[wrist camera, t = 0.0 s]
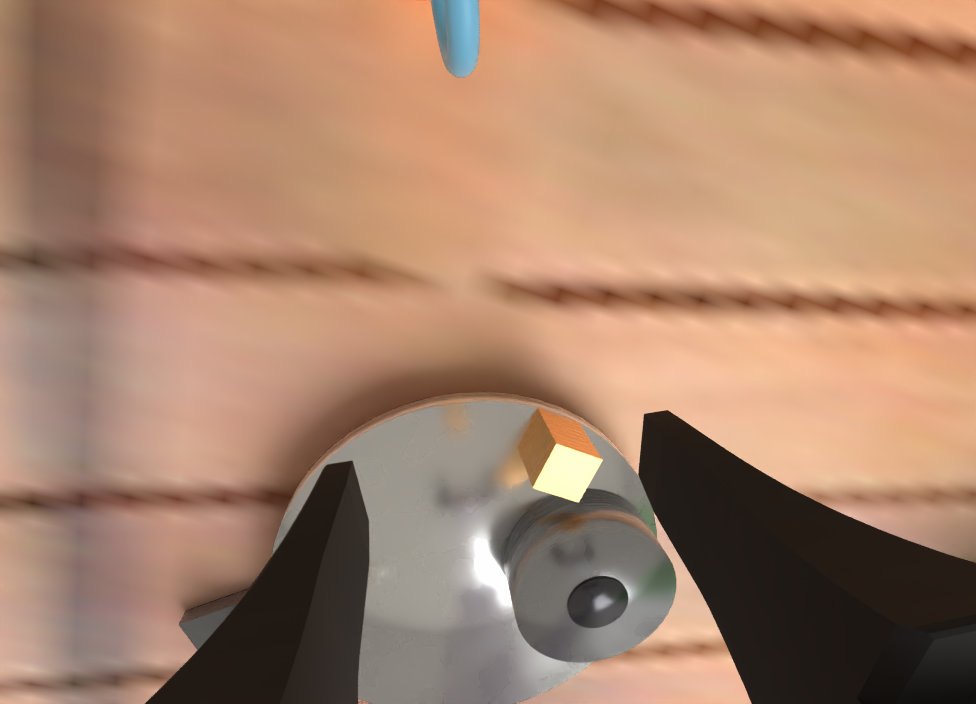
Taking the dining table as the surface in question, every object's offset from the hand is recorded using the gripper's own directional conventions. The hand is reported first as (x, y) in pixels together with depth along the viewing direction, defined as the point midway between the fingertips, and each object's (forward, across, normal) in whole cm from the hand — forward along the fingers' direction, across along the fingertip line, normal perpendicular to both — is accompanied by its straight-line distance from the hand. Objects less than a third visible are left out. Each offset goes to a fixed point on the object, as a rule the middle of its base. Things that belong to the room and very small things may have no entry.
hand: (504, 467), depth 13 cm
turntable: (+7, +1, +13) cm, 15 cm away
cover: (+6, -4, +12) cm, 14 cm away
